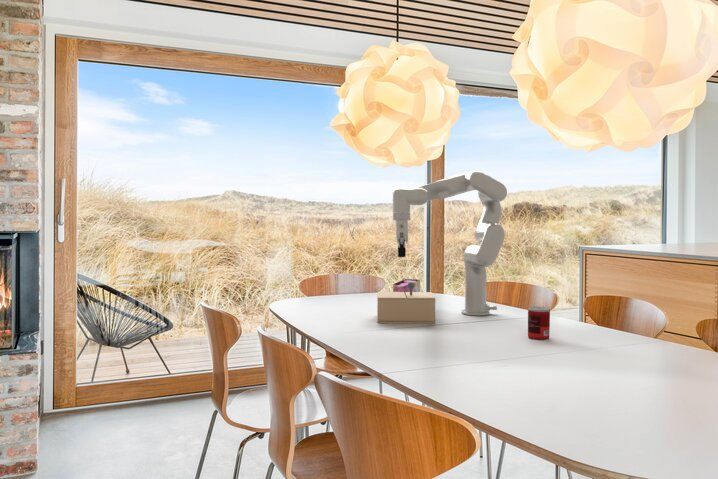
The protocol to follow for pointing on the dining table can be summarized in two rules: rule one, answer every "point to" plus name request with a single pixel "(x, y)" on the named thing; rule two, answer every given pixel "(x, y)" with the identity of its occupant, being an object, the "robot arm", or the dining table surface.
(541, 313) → the canned food
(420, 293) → the carton flap
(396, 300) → the carton
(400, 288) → the gum box
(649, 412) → the dining table surface
